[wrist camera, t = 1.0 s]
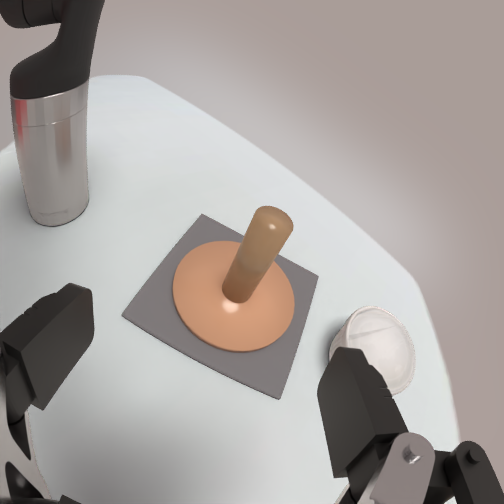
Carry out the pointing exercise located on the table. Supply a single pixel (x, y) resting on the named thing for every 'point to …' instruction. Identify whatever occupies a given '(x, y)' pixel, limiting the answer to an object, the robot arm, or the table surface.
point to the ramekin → (380, 345)
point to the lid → (238, 287)
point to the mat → (227, 363)
